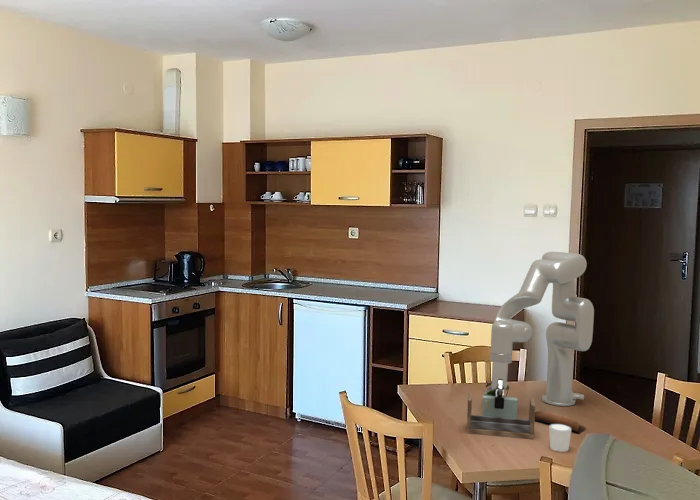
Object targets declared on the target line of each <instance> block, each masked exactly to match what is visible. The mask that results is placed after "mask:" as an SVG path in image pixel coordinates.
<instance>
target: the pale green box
mask: <svg viewBox="0 0 700 500" xmlns="http://www.w3.org/2000/svg"><path fill="white" fill-rule="evenodd" d="M495 397H496V396H487V395H484V394H482V412H481V413H482V414H481V416H490V417H501V418H513V419H518V397H509V396H507V397H505V396H504V409H496V408H494V405H495Z"/></svg>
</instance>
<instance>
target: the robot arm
mask: <svg viewBox="0 0 700 500" xmlns="http://www.w3.org/2000/svg"><path fill="white" fill-rule="evenodd" d="M587 264H588V263H587V259H586V258H585V256H584V255H582V254H579V253H575V252H564V251H563V252H562V251H547V252H544V254H543V255H542V257H541V259H535V260H534V261H533V262H531V265H530V267H529V269H528V272H527V273H526V276H525V278H524V279H523V282H522V285H521V287H520V289H519V291H518V293H516V294H514V295H513V296H512V297H510V298H509V299H508V300H507V301H506V302H504V303H503V304H502V305H501V307H500V308H499V309H498V310H497V311H498V312H497V314H496V316H495V318H494V321H493V323H492V325H491V331H490V332H491V334H490V335H491V336H490V355H489V357H490V358H489V361H490V362H491V363H492V367H491V381H492V384H491V386H492V390H494V389H495V390H494V396H496V397H495V405H494V408H496V409H504V397H505V393H504V392H506V391H507V390H506V388H507V387H506V385H507V384H508V374H509V364H511V363H512V362H513V347H514V346H513V345H514V343H526V342H528V341H529V340H531V338H532V335H533V329H532V327H531V325H530V324H529V323H527V322H525V321H521V320H517V319H512V317H513V316H514V315H515V314H516V313H517V312H519V311H521V310H523V309H526V308H529V307H530V308H531V307H533V306H536V305H539V304H540V303H541V302H542V300H543V297H544V295H545V293H546V291H547V288H548V286H549V284H552V297H551V298H552V299H551V314H552V316H553V317H554V318H556V319H559V320H563V321H570V322H575V324H572V323H567V322H566V323H565V322H559V321H555V322H552V323H550V324H548V325H547V328H546V331H545V338H546V339H545V340H546V345H547V366H546V367H547V368H546V369H547V370H546V390H545V394H543V395H542V396H541V400H542V401H543V402H544V403H546V404H549V405H552V406H558V407H570V406H573V405H575V404H576V400H582V401H584V399H585V395H584V394H583V393H582V394H580V392H574V391H573V389H572V388H573V365H574V357H573V354H572V351H571V350H573V351H578V352H586V351H588V350H589V349H590V347H591V345H592V342H593V334H594V321H595V320H594V319H595V318H594V317H595V308H594V305H593V302H591V300H590V299H588V298H584V297H580V296H579V297H578V296H577V294H576V287H577V286H576V285H577V284H576V280H575V279H577V278H579V277H581V276H582V275H583V274H584V273H585V271H586V269H587V266H588V265H587Z"/></svg>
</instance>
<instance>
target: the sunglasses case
mask: <svg viewBox="0 0 700 500" xmlns="http://www.w3.org/2000/svg"><path fill="white" fill-rule="evenodd" d="M535 422H541V423H547V424H549V425H551V424H563V425H567V426H569V427H571V431H572V432H573V431H574V432H576V433H578V434H582V433H583V432H585V431H587V430H588V429H589V428H588V427H587V426H586V425H584V424H582V423H579V422H578V421H577V420H576V419H574V418H572V417H569V416H565V415H560V414H559V413H555V412H551V411H545V410H535Z"/></svg>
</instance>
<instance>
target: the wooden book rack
mask: <svg viewBox="0 0 700 500" xmlns="http://www.w3.org/2000/svg"><path fill="white" fill-rule="evenodd" d="M472 400H473V393H471V392H469V393H468V396H467V416H466V422H467V423H466V434H472V435H473V434H474V435H484V436H493V437H505V438H519V439H527V440H528V439H529V440H534V439H535V422H536V420H535V412H536V404H535V400H534V397H529V406H528V407H529V408H528V409H529V411H528V413H529V414H528V419H523V418H517V419H513V418H501V417H490V416H482V415H475V414H472V408H473V407H472V406H473V405H472V404H473V401H472Z"/></svg>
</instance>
